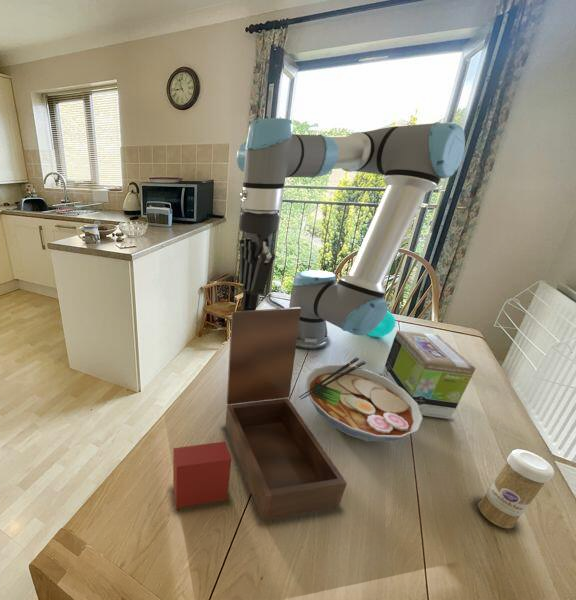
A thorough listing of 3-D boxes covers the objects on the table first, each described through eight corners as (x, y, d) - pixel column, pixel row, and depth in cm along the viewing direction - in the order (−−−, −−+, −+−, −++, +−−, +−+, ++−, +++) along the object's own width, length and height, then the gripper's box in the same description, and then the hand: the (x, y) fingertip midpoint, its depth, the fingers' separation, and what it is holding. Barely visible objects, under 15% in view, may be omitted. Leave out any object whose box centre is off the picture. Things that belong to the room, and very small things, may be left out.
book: (173, 491, 56) (173, 448, 52) (221, 483, 58) (225, 441, 53) (176, 510, 53) (176, 466, 49) (227, 502, 54) (232, 459, 50)
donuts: (381, 326, 112) (389, 301, 108) (392, 340, 104) (401, 313, 99) (351, 322, 115) (358, 298, 110) (359, 336, 106) (367, 310, 102)
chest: (337, 510, 53) (347, 483, 50) (260, 523, 51) (266, 496, 48) (283, 421, 71) (287, 398, 68) (224, 429, 69) (227, 405, 66)
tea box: (452, 420, 72) (478, 368, 66) (404, 414, 74) (425, 362, 67) (419, 379, 85) (439, 333, 79) (379, 374, 87) (395, 328, 81)
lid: (301, 308, 61) (299, 306, 62) (232, 313, 59) (231, 311, 60) (289, 397, 68) (287, 395, 69) (227, 404, 66) (226, 402, 67)
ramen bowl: (373, 487, 57) (385, 456, 54) (276, 410, 75) (281, 382, 71) (433, 430, 69) (446, 402, 66) (337, 375, 87) (344, 350, 83)
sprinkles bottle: (477, 517, 52) (513, 462, 47) (476, 496, 56) (510, 443, 50) (515, 536, 50) (558, 480, 44) (512, 513, 53) (552, 459, 47)
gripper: (231, 206, 65) (222, 306, 75) (254, 216, 54) (241, 333, 63) (264, 205, 67) (252, 304, 76) (294, 215, 55) (275, 331, 65)
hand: (247, 318), depth 70 cm, fingers closed
